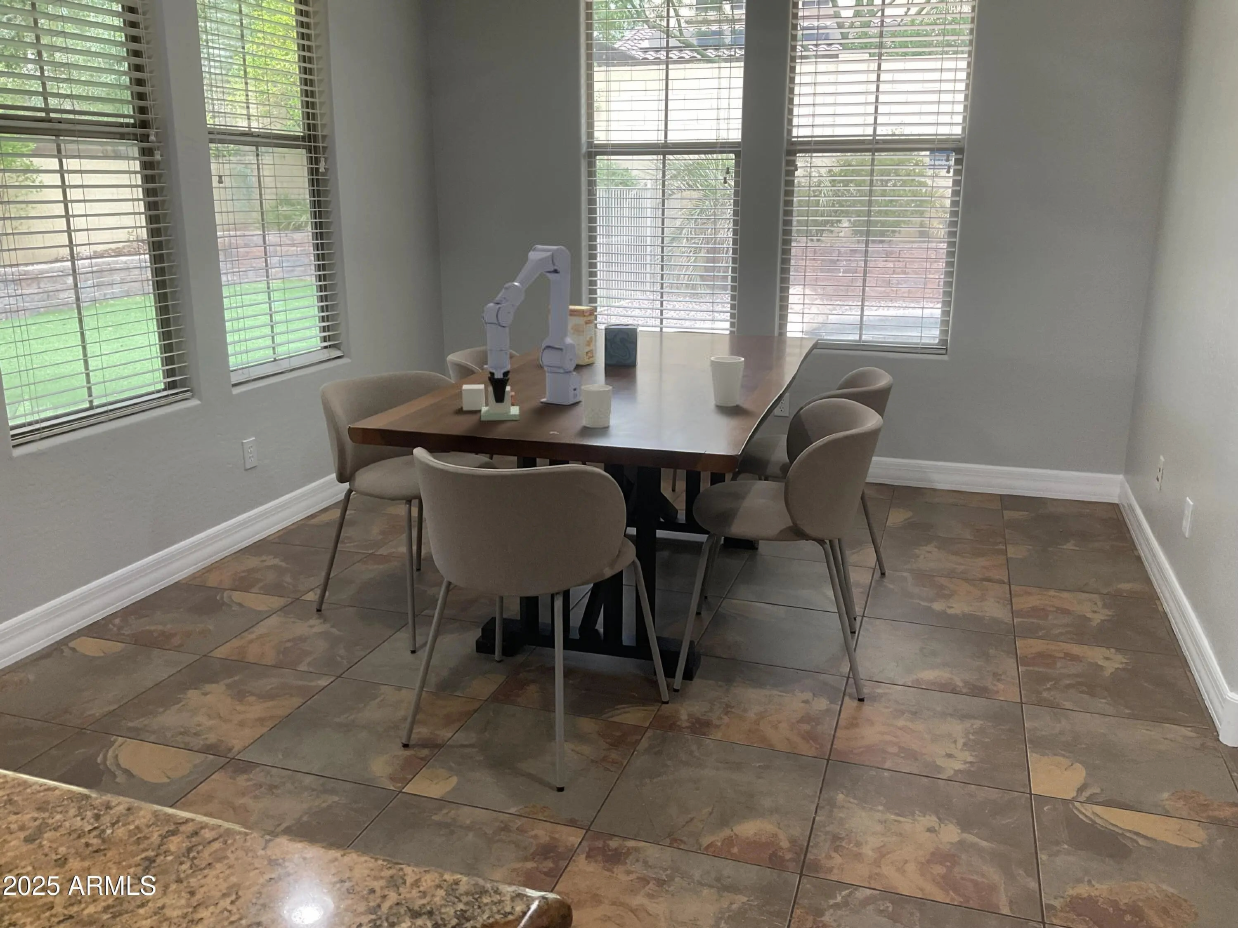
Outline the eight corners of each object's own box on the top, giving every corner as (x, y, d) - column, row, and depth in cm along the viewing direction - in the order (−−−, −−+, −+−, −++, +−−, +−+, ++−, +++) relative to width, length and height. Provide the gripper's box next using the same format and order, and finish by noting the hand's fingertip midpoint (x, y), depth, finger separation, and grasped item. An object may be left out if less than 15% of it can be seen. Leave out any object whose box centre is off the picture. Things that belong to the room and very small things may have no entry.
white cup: (595, 420, 265) (594, 383, 262) (618, 424, 260) (618, 387, 257) (575, 425, 259) (574, 387, 256) (598, 430, 254) (598, 391, 251)
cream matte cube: (510, 407, 272) (510, 386, 271) (510, 412, 267) (510, 390, 265) (489, 408, 272) (488, 386, 270) (488, 413, 266) (488, 390, 264)
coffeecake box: (595, 362, 351) (595, 306, 346) (584, 365, 346) (583, 308, 340) (560, 358, 359) (559, 304, 354) (549, 361, 353) (548, 306, 348)
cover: (484, 405, 282) (484, 384, 281) (484, 409, 277) (483, 388, 275) (464, 405, 282) (463, 384, 280) (463, 410, 276) (462, 388, 275)
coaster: (518, 411, 275) (518, 406, 274) (519, 419, 265) (518, 414, 265) (482, 412, 274) (482, 406, 273) (481, 420, 264) (480, 414, 264)
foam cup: (716, 408, 279) (717, 362, 276) (704, 401, 288) (705, 356, 284) (747, 406, 282) (749, 360, 278) (735, 399, 290) (736, 355, 287)
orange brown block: (514, 405, 282) (514, 392, 281) (514, 408, 279) (514, 394, 278) (500, 406, 282) (500, 392, 281) (500, 409, 278) (499, 395, 277)
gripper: (483, 345, 271) (485, 394, 275) (482, 354, 257) (484, 405, 261) (510, 345, 272) (511, 394, 276) (509, 353, 258) (511, 405, 262)
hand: (499, 399), depth 268 cm, fingers open, 7 cm apart
